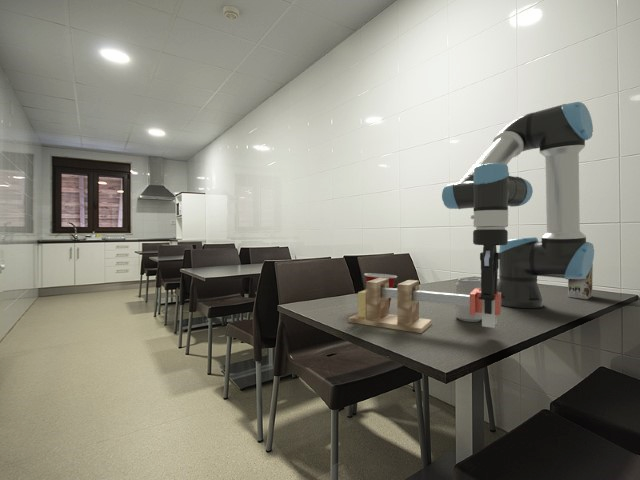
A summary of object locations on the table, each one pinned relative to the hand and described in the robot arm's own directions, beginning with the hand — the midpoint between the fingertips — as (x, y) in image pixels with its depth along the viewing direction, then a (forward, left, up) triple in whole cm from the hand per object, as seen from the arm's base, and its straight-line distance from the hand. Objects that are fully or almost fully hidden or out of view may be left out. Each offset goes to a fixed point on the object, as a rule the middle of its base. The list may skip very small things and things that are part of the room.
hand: (489, 324), depth 84 cm
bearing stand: (+25, 0, -3) cm, 25 cm away
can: (+7, -16, -3) cm, 18 cm away
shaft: (+13, 0, +3) cm, 13 cm away
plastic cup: (+34, -14, -3) cm, 37 cm away
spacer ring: (+32, 0, +2) cm, 33 cm away
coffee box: (-24, -74, -3) cm, 78 cm away
